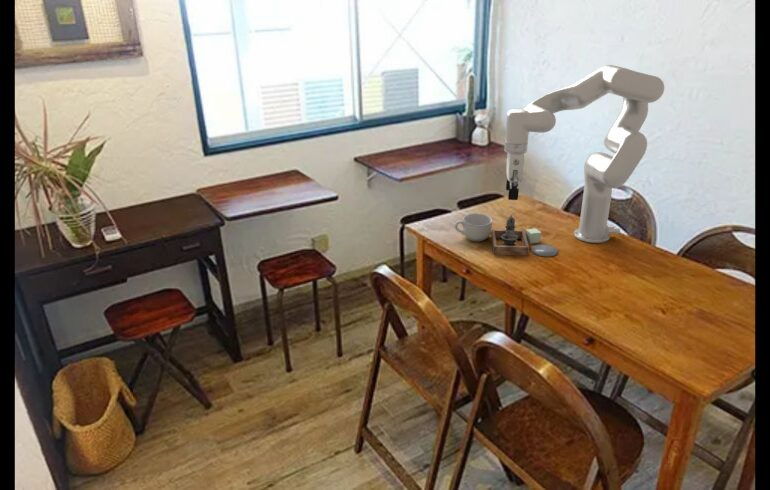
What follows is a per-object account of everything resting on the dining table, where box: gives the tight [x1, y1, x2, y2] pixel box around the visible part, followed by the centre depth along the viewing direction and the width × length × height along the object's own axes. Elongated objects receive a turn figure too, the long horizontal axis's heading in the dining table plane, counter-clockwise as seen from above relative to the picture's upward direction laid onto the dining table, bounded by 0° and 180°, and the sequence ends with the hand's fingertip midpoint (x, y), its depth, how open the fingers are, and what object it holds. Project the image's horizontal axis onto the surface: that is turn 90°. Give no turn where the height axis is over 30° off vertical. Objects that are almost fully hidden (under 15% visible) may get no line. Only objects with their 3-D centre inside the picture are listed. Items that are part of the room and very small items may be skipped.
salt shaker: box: [501, 215, 518, 246], centre depth 205 cm, size 6×6×12 cm
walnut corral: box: [490, 229, 530, 256], centre depth 207 cm, size 12×15×3 cm
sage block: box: [525, 228, 542, 244], centre depth 211 cm, size 4×4×4 cm
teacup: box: [454, 212, 493, 242], centre depth 213 cm, size 14×11×8 cm
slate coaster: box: [530, 243, 559, 258], centre depth 203 cm, size 9×9×1 cm
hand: (511, 194), depth 200 cm, fingers open, 9 cm apart
